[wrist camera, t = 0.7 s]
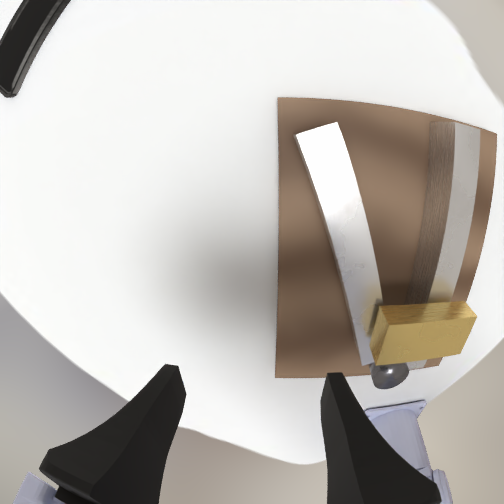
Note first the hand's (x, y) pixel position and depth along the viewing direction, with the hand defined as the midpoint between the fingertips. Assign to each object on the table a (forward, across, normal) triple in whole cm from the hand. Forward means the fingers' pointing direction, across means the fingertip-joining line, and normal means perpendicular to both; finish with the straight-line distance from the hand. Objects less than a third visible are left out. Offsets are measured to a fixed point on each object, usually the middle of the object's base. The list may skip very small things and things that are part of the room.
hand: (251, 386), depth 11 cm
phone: (+10, +20, -25) cm, 34 cm away
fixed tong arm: (+8, -10, -2) cm, 13 cm away
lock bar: (+5, -10, +1) cm, 11 cm away
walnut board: (+9, -9, -2) cm, 13 cm away
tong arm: (+8, -5, -3) cm, 10 cm away
